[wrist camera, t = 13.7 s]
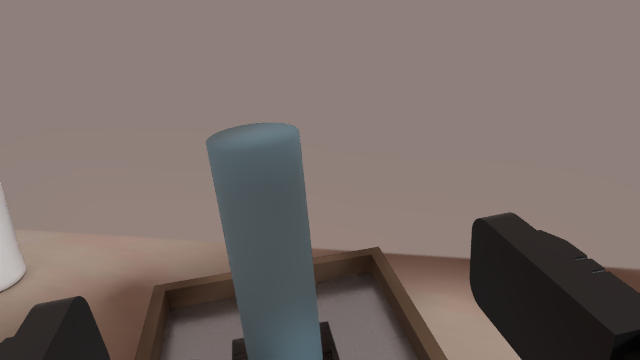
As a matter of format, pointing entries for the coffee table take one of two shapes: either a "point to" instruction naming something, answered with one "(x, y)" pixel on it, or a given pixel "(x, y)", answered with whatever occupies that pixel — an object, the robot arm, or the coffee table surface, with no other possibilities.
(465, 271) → the coffee table surface
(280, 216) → the blue-grey painted peg
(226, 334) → the grey metal bore plate
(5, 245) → the drinking glass
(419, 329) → the walnut crate
